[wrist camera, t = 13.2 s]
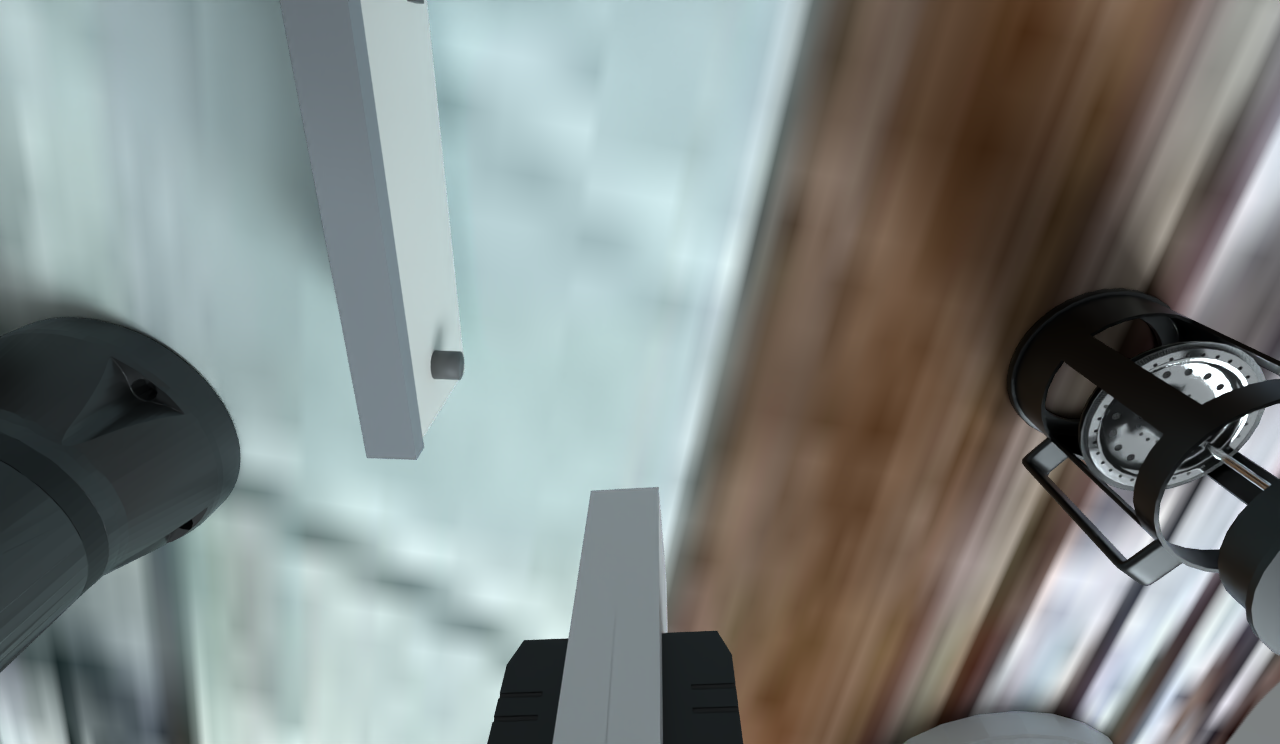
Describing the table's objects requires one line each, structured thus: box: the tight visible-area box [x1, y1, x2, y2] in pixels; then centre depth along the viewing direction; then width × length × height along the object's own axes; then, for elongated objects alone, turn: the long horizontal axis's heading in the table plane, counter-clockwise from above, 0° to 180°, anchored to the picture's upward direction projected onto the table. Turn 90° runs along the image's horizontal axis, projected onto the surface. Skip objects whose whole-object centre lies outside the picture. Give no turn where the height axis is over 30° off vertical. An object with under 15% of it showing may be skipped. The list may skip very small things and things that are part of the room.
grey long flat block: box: [280, 0, 465, 460], centre depth 27 cm, size 23×3×9 cm, turn 178°
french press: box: [1007, 288, 1280, 655], centre depth 26 cm, size 12×9×23 cm
